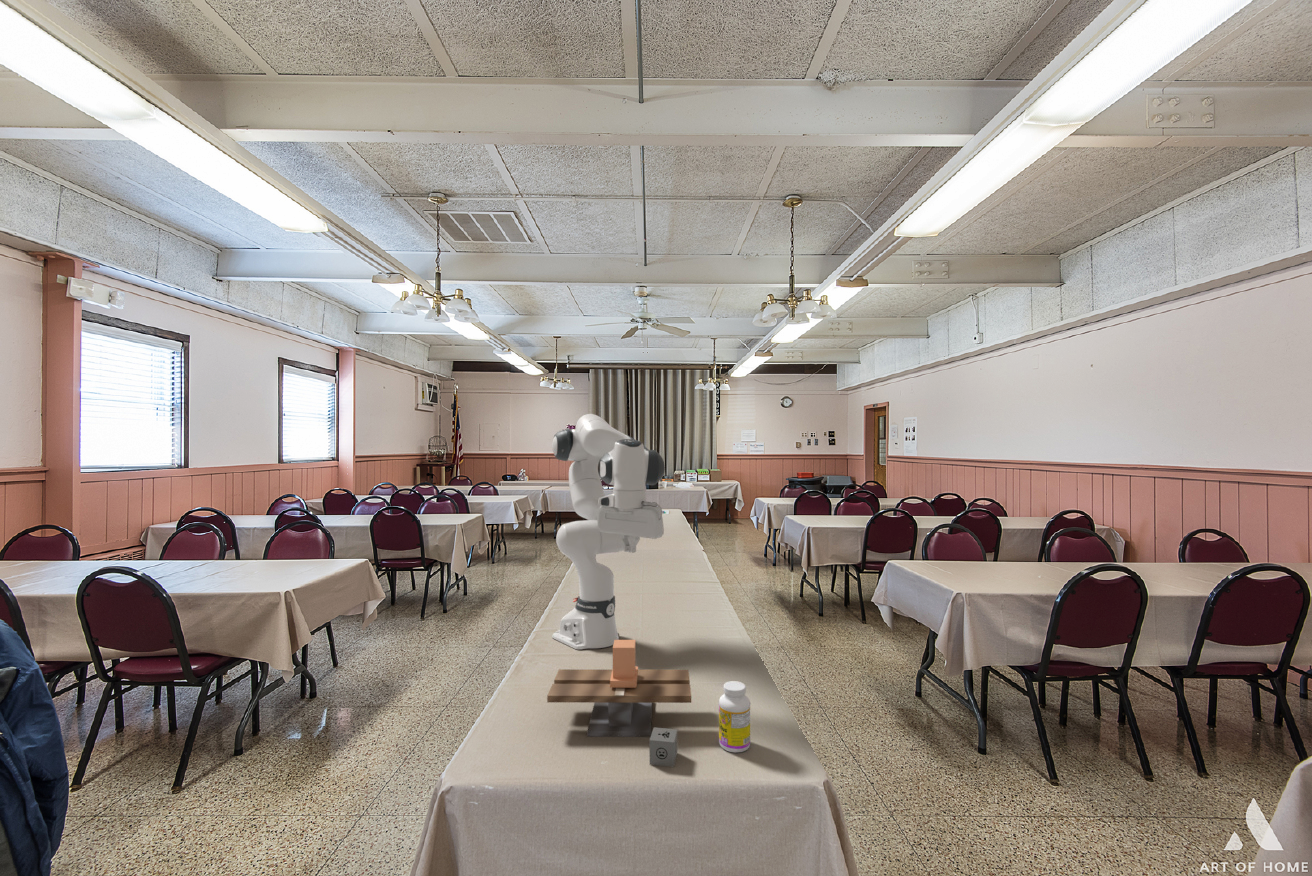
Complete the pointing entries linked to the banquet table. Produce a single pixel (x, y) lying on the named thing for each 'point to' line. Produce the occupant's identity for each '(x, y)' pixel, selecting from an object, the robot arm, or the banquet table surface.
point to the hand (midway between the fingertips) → (629, 551)
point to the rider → (624, 665)
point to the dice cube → (663, 747)
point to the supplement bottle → (734, 718)
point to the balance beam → (620, 698)
